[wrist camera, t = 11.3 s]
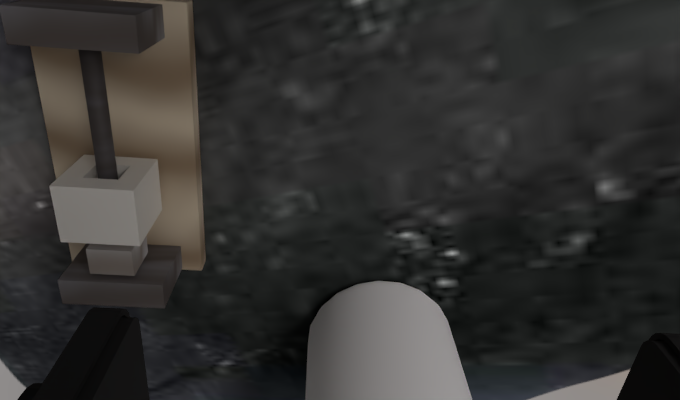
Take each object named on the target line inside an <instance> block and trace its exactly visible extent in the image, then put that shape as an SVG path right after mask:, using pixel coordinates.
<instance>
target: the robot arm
mask: <svg viewBox="0 0 680 400" xmlns="http://www.w3.org/2000/svg"><path fill="white" fill-rule="evenodd" d="M18 400H149V392H148V385H147V377H146V369H145V362H144V354H143V346H142V339H141V331H140V324H139V320H138V318H130V316H129V312H128V311H127V310H126V309H115V308H92V309H90V310H89V312H88V313H87V314H86V316H85V317H84V319H83V321H82V322H81V324H80V325H79V327H78V329H77V330H76V332H75V333H74V335H73V336H72V338H71V340H70V341H69V343H68V344H67V346H66V347H65V349H64V351H63V352H62V354H61V355H60V357H59V358H58V360H57V362H56V363H55V365H54V366H53V368H52V369H51V371H50V373H49V374H48V376H47V377H46V379H45V380H44V382H43V383H35V384H32V385H30V386H29V387H27V388H26V389H25V391H24V392H23V393H22V394H21V396H20V397H19V398H18ZM617 400H680V334H669V333H655V334H654V335H652V336H651V338H650V339H649V341H645V342H644V343H643V344H642V346H641V348H640V350H639V352H638V354H637V356H636V359H635V361H634V363H633V365H632V367H631V369H630V372H629V374H628V376H627V378H626V380H625V383H624V385H623V387H622V389H621V391H620V394H619V396H618V398H617Z"/></svg>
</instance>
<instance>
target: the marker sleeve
mask: <svg viewBox="0 0 680 400" xmlns="http://www.w3.org/2000/svg"><path fill="white" fill-rule="evenodd" d="M115 158H116V165H117V173H118V180H116V179H99V178H98V175H97V169H96V162H95V156H94V155H83V156H82V157H81V158H80V159H79V160H77V161H76V162H75V163H74V164H73V165H72V166H71V167H70V168H68V169H67V170H66V171H65V172H64V173H63V174H62V175H61V176H60V177H58V178H57V179H56V180H55V181H54V182H53V183H52V184H51V185H50V186H49V187H50V192H51V197H52V202H53V207H54V212H55V217H56V222H57V227H58V232H59V237H60V242H69V243H88V244H107V245H127V246H141V244H142V242H143V241H144V239H145V237H146V236H147V234H148V232H149V231H150V229H151V227H152V226H153V224H154V222H155V221H156V219H157V217H158V216H159V214H160V212H161V211H162V202H161V191H160V180H159V169H158V159H149V158H133V157H116V156H115Z"/></svg>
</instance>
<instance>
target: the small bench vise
mask: <svg viewBox="0 0 680 400" xmlns="http://www.w3.org/2000/svg"><path fill="white" fill-rule="evenodd" d="M0 14H1V19H2V23H3V28H4V33H5V37H6V42H7V44H9V45H23V46H30V47H31V52H32V58H33V63H34V68H35V73H36V78H37V83H38V89H39V94H40V99H41V104H42V109H43V114H44V119H45V125H46V130H47V135H48V140H49V145H50V150H51V156H52V161H53V166H54V171H55V176H56V179H57V178H58V177H60V176H61V175H62V174H63V173H64V172H65V171H66V170H67V169H68V168H70V167H71V166H72V165H73V164H74V163H75V162H76V161H77V160H79V159H80V158H81V157H82V156H83V155H94V156H95V162H96V169H97V175H98V178H99V179H116V180H118V173H117V165H116V158H115V156H116V157H133V158H149V159H158V169H159V180H160V191H161V202H162V211H161V212H160V214H159V216H158V217H157V219H156V221H155V222H154V224H153V226H152V227H151V229H150V231H149V232H148V234H147V236H146V237H145V239H144V241H143V242H142V244H141V246H127V245H107V244H88V243H69V242H68V243H69V248H70V253H71V259H72V262H71V264H70V265H69V266H68V267H67V269H66V270H65V271H64V273H63V274H62V275H61V276H60V278H59V279H58V285H59V290H60V294H61V299H62V304H81V305H103V306H125V307H147V308H165V306H166V304H167V302H168V299H169V297H170V295H171V293H172V290H173V288H174V286H175V283H176V281H177V279H178V277H179V274H180V272H181V270H202V269H203V266H204V263H205V261H206V255H205V236H204V216H203V196H202V177H201V157H200V138H199V118H198V99H197V79H196V59H195V40H194V20H193V1H192V0H20V1H16V2H11V3H6V4H1V5H0Z"/></svg>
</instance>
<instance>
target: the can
mask: <svg viewBox="0 0 680 400" xmlns="http://www.w3.org/2000/svg"><path fill="white" fill-rule="evenodd" d="M305 400H472V397H471V394H470V391H469V388H468V385H467V381H466V378H465V375H464V372H463V369H462V365H461V362H460V359H459V356H458V353H457V349H456V346H455V343H454V340H453V337H452V333H451V330H450V327H449V324H448V321H447V319H446V317H445V315H444V314H443V312H442V310H441V309H440V307H439V305H438V304H437V303H435V302H434V301H433V300H432V299H430V298H429V297H428V296H427V295H425V294H424V293H423V292H422V291H420V290H418V289H416V288H413V287H411V286H408V285H405V284H403V283H399V282H388V281H373V282H367V283H361V284H356V285H354V286H352V287H349V288H347V289H345V290H343V291H341V292H338V293H337V294H335V295H334V296H333V297H332V298H331V299H330V300H329V301H327V302H326V303H325V304H324V305H323V306H322V307H321V308H320V310H319V311H318V313H317V315H316V317H315V318H314V320H313V322H312V324H311V325H310V331H309V339H308V352H307V374H306V395H305Z"/></svg>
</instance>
